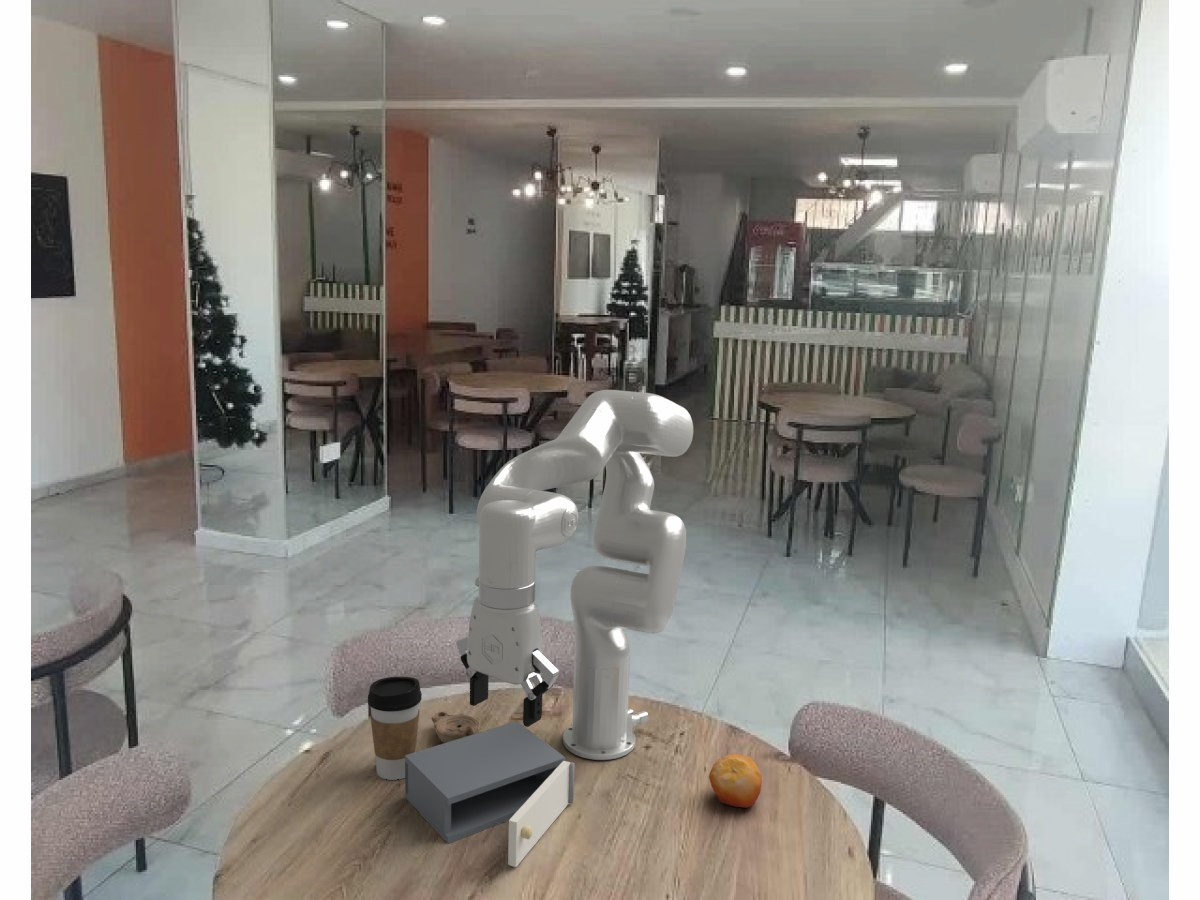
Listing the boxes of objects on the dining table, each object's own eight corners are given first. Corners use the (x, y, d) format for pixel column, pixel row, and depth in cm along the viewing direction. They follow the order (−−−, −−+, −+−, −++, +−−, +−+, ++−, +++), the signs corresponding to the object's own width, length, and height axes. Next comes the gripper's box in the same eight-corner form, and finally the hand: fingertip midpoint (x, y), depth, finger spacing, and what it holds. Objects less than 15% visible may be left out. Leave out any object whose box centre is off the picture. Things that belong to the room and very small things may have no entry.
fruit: (770, 780, 144) (766, 752, 139) (757, 825, 139) (752, 798, 134) (721, 767, 147) (716, 740, 142) (707, 811, 142) (701, 784, 137)
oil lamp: (421, 731, 159) (421, 705, 158) (459, 720, 163) (459, 694, 162) (456, 764, 149) (456, 736, 148) (496, 751, 153) (496, 724, 152)
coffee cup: (409, 788, 141) (408, 698, 138) (359, 780, 143) (357, 692, 140) (429, 760, 149) (429, 675, 146) (382, 754, 151) (381, 669, 148)
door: (563, 799, 139) (564, 759, 138) (576, 802, 138) (577, 762, 137) (508, 864, 123) (508, 820, 122) (522, 869, 122) (523, 824, 121)
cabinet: (516, 759, 150) (517, 720, 149) (564, 799, 139) (565, 757, 138) (405, 797, 138) (405, 755, 137) (447, 843, 127) (448, 798, 126)
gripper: (440, 586, 122) (440, 704, 126) (540, 616, 113) (537, 742, 116) (477, 573, 128) (476, 685, 132) (575, 600, 119) (572, 720, 122)
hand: (505, 712), depth 124 cm, fingers open, 9 cm apart
